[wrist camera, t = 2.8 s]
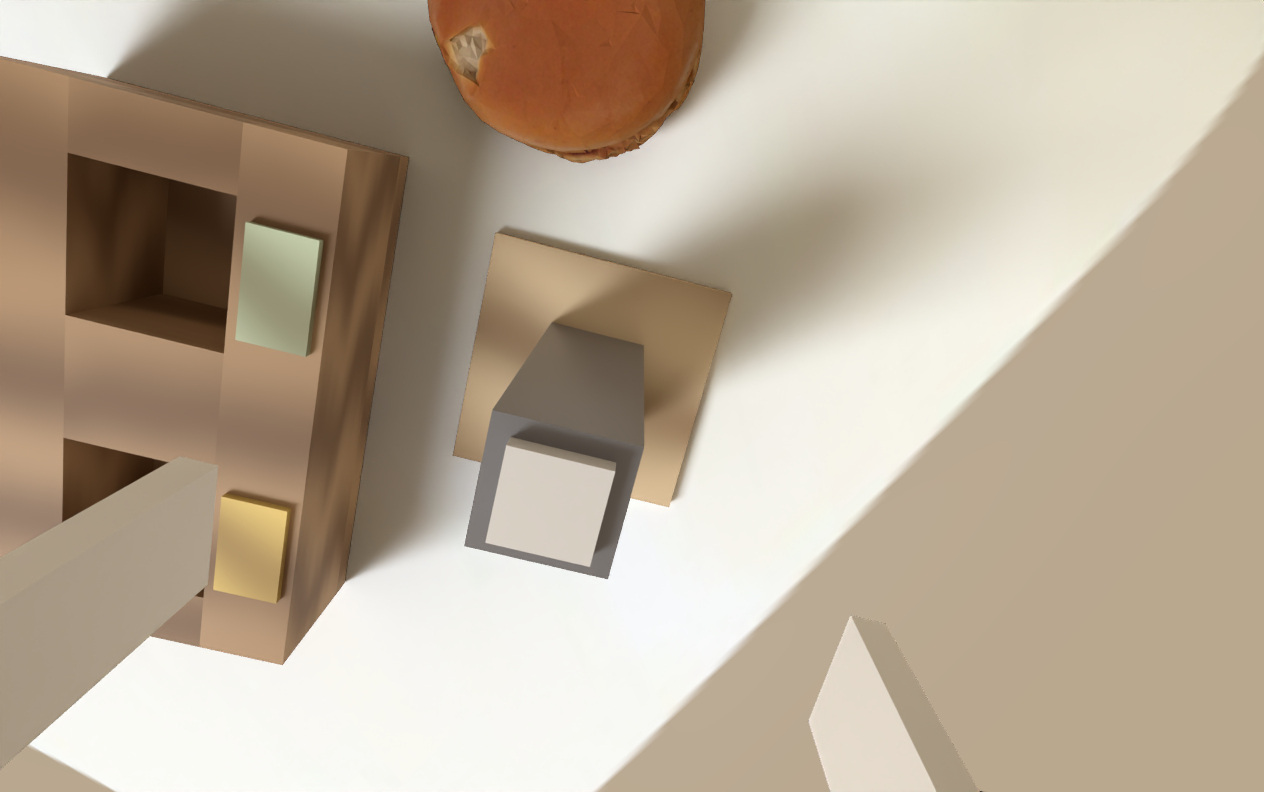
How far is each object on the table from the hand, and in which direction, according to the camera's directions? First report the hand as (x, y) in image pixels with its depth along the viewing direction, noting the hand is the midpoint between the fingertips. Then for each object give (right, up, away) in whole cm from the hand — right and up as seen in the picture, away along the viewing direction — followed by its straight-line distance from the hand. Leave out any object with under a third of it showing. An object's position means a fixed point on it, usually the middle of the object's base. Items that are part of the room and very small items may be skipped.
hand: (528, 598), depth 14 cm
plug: (0, +5, +16) cm, 16 cm away
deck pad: (0, +5, +16) cm, 17 cm away
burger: (0, +18, +13) cm, 22 cm away
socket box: (-15, +6, +16) cm, 23 cm away
